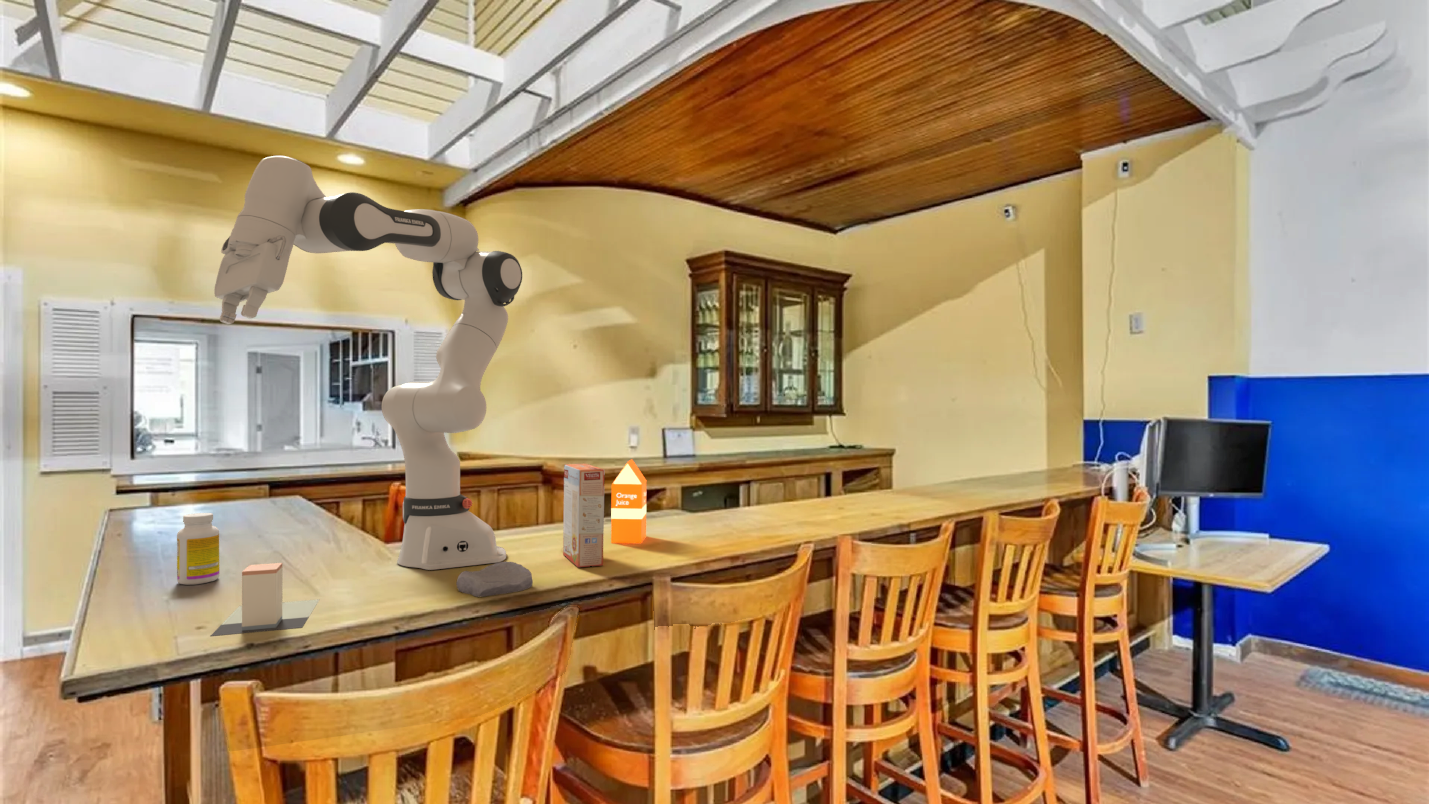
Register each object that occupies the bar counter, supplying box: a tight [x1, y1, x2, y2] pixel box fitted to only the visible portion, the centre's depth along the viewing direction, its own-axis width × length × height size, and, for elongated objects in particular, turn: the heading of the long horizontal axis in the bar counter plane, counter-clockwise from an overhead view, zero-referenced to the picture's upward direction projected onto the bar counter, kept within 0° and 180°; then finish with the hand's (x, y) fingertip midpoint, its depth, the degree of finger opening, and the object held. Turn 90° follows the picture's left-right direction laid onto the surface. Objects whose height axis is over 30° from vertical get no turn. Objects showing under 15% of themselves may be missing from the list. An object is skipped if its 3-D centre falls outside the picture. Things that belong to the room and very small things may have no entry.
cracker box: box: [562, 463, 606, 568], centre depth 158 cm, size 14×6×21 cm, turn 25°
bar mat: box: [210, 599, 320, 637], centre depth 116 cm, size 12×16×1 cm
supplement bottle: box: [176, 512, 220, 586], centre depth 138 cm, size 7×7×13 cm
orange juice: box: [610, 458, 648, 544], centre depth 181 cm, size 8×9×20 cm
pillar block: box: [241, 562, 283, 631], centre depth 112 cm, size 4×4×9 cm
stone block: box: [456, 560, 534, 598], centre depth 135 cm, size 12×5×10 cm
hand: (236, 319), depth 118 cm, fingers open, 8 cm apart
